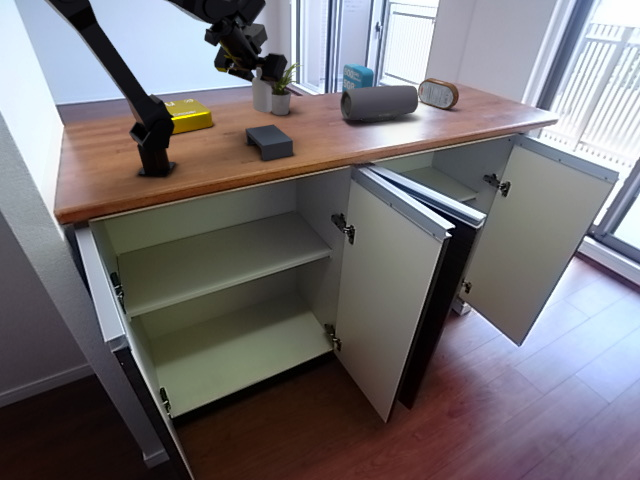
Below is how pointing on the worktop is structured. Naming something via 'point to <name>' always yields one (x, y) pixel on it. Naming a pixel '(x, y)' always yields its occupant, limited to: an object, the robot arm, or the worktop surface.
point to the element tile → (189, 115)
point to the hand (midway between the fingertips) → (264, 83)
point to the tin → (438, 93)
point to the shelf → (270, 141)
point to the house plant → (282, 93)
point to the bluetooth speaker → (378, 102)
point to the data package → (357, 77)
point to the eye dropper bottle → (261, 94)
